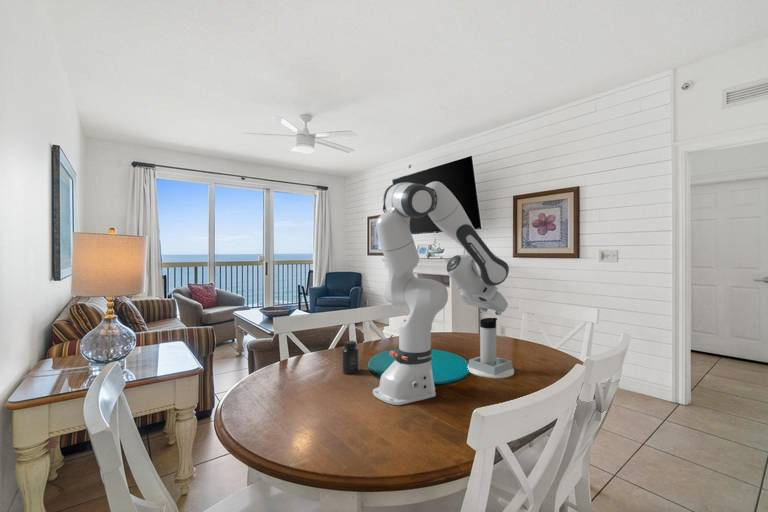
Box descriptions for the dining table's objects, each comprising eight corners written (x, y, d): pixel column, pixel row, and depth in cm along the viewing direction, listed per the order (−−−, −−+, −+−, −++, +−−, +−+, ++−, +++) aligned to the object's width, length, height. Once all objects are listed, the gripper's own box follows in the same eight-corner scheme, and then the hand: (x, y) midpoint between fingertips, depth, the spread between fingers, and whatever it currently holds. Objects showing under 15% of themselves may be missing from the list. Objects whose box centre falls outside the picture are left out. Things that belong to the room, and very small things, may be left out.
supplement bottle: (360, 369, 146) (360, 339, 146) (357, 374, 140) (357, 344, 139) (343, 368, 147) (343, 339, 147) (340, 374, 140) (339, 344, 140)
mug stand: (496, 382, 131) (496, 371, 131) (458, 369, 145) (458, 359, 145) (523, 371, 142) (523, 361, 142) (484, 360, 156) (484, 351, 156)
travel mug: (499, 370, 141) (499, 319, 140) (483, 370, 140) (483, 320, 139) (494, 364, 147) (493, 316, 146) (478, 365, 146) (477, 316, 145)
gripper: (452, 293, 145) (469, 314, 151) (491, 299, 128) (509, 323, 133) (460, 281, 148) (477, 302, 153) (499, 286, 130) (517, 310, 136)
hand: (492, 312), depth 143 cm, fingers open, 6 cm apart
